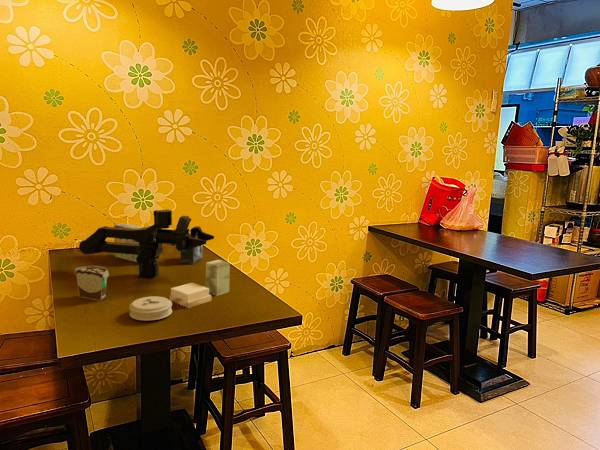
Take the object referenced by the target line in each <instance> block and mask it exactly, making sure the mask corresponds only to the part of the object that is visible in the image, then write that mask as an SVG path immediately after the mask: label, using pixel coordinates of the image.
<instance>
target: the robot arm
mask: <svg viewBox="0 0 600 450" xmlns="http://www.w3.org/2000/svg"><path fill="white" fill-rule="evenodd" d="M191 221H192V218H190V216H189V215H182V216H180V217H179V218H178V221H177V224H176V227H175V229H171V228H170V227H171V226H172V225H173V210H171V209H160V210H159V209H157V210H153V222H154V223H153V224H152V225H150V226H145V227H143V226H142V227H143V228H137V229H129V228H115V227H114V226H101V227H98V228H97V230H95V231H94V232H93V233H92V234H91V235H89V236H88V237H87V238H85V239H84V240H81V241H80V242H79V247H78V248H79V250H80V253H82V254H83V255H94V254H100V253H112V254H115V253H121V254H133V255H137V256H138V257H137V258H136V260H137V262H136V263H137V264H138V273H139V274H138V275H137V278H139V279H140V278H141V279H143V278H144V279H154V278H156V277H158V276H159V275H160V271H159V269H160V268H159V267H160V266H159V264H158V259H159V258H160V256H161V255H162V254H163V252H164V249H163V248H164V247H163V244H164V245H171V246H173V247H175V249H176V250H177V251H178V252H181V251H182V252H183V251H186V250H189V249H192V248H195V247H198V246H201V245H203V246H204V245H207V242H208V241H210V240H214V239H215V236H214V235H212V234H210V233H207V232H205V231H203V230H202V228H201V226H199V225H197V226H196V225H195V226H193V227H192V228H191V229H190V228H189V226H190V223H191ZM108 238H109V239H110V238H111V239H114V238H119V239H131V240H134V241H136V242H139V244H132V243H119V242H115V241H107V239H108ZM183 247H185V248H183Z"/></svg>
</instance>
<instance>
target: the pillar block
mask: <svg viewBox="0 0 600 450" xmlns="http://www.w3.org/2000/svg"><path fill="white" fill-rule="evenodd" d="M230 265H231V262H228V261H225V260H223V259H222V260H221V259H216V260H215V259H214V260H211V261H207V262H205V287H207V288H209V294H210V295H214V296H217V297H218V296H220V295H223V294H226V293H230V281H231V280H230V279H231V278H230V277H231V276H230V272H231V271H230V269H231V268H230V267H231V266H230Z"/></svg>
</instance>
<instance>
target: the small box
mask: <svg viewBox="0 0 600 450" xmlns="http://www.w3.org/2000/svg"><path fill="white" fill-rule="evenodd" d="M203 246H204V245H201V246H198V247H195V248H192V249H189V250H186V251H183V252H182V251H180V264H186V265H194V264H196V263H197V262H199V261H201V260H203V257H204V256H203V254H204V253H203ZM183 248H185V247H183Z"/></svg>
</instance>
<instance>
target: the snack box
mask: <svg viewBox="0 0 600 450" xmlns="http://www.w3.org/2000/svg"><path fill="white" fill-rule="evenodd" d="M113 227H115V228H129V229H137V228H143V226H138V225H133V224H128V223H118V224H113ZM113 239H114V240H113V242H119V243H132V244H139V242H136V241H134V240H131V239H119V238H113ZM114 257H115V258H120V259H122V260H126V261H130V262H134V263H137V260H136V258H137V257H138V256H137V255H133V254H121V253H114Z"/></svg>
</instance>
